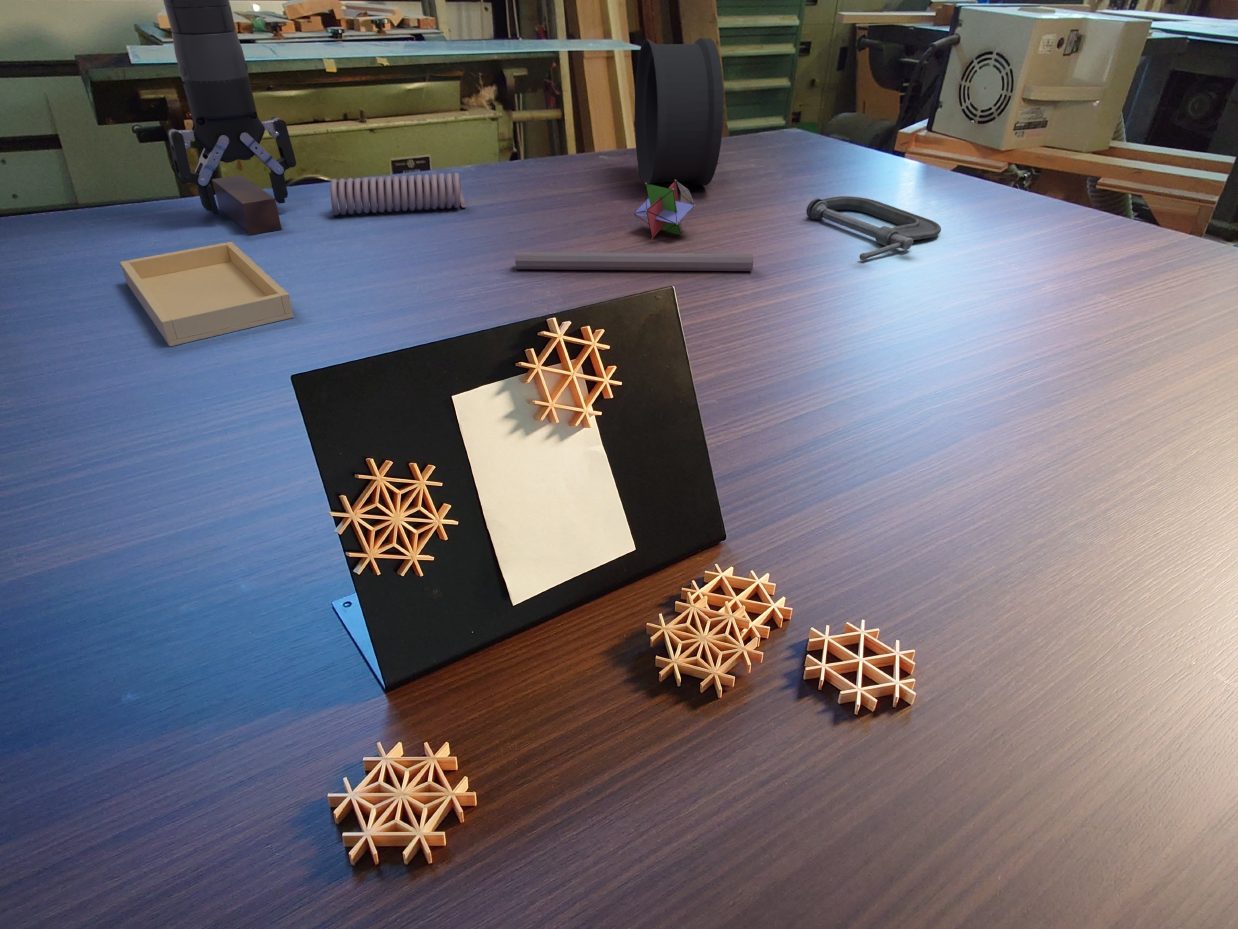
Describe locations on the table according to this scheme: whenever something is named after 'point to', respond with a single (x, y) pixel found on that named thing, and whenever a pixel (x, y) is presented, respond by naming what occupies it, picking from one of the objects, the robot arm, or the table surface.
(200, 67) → the robot arm
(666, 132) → the wheel rim
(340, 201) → the coil
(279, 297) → the tray
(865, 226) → the c clamp
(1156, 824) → the table surface
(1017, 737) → the table surface
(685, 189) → the geometric puzzle
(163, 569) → the table surface
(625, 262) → the metal rod
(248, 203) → the block
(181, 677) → the table surface
